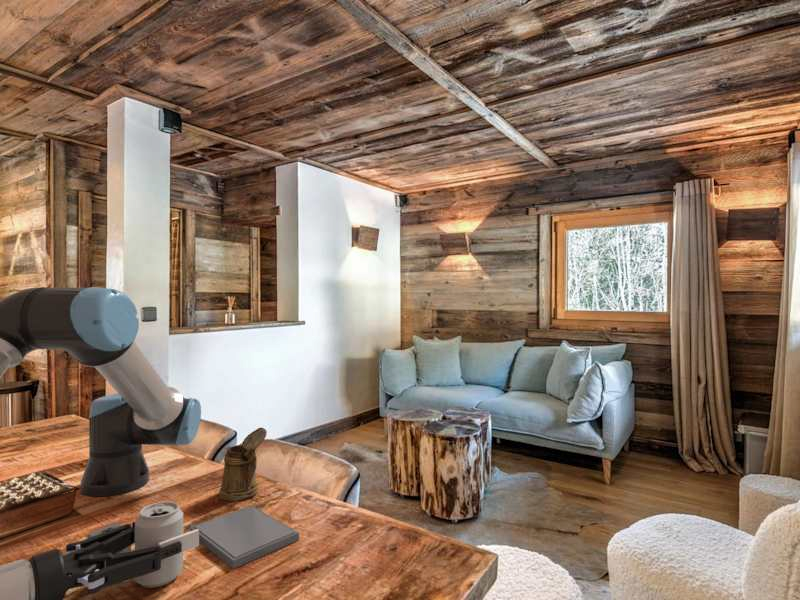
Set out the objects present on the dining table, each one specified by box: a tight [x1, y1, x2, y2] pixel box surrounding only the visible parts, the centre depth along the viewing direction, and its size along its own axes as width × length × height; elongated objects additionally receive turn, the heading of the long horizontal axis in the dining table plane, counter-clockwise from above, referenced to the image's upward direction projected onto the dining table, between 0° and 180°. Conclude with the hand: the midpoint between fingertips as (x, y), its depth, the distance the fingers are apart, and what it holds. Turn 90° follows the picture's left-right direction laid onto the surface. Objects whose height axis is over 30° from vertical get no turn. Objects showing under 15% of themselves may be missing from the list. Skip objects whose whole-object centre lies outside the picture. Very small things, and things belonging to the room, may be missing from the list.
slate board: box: [189, 505, 300, 570], centre depth 95 cm, size 18×14×2 cm
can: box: [134, 500, 184, 588], centre depth 82 cm, size 8×8×12 cm
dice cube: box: [86, 522, 132, 568], centre depth 88 cm, size 5×5×5 cm
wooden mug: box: [218, 427, 268, 502], centre depth 115 cm, size 9×14×18 cm, turn 50°
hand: (187, 529), depth 85 cm, fingers closed on can, 7 cm apart
